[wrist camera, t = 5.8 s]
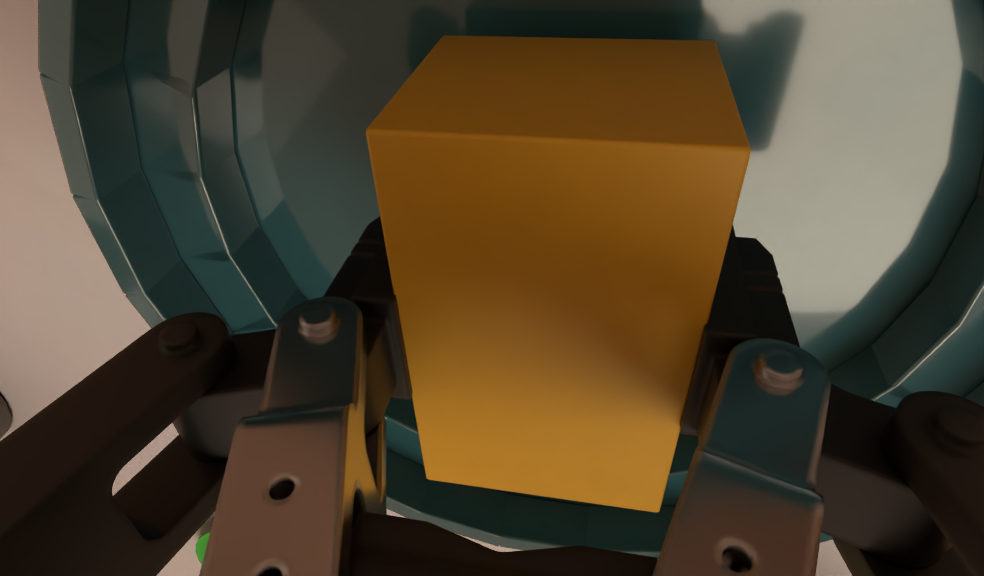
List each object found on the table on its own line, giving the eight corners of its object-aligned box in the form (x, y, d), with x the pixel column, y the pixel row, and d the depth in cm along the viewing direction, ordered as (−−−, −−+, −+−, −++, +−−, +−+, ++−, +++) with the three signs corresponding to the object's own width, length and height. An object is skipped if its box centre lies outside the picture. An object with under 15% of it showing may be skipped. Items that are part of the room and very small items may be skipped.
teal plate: (-45, -394, 9) (-281, -463, 7) (1603, -579, 6) (2228, -828, 4) (277, 426, 21) (233, 504, 19) (878, 510, 18) (913, 615, 15)
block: (442, 34, 11) (363, 129, 7) (716, 39, 10) (753, 149, 7) (467, 343, 15) (425, 480, 12) (654, 363, 14) (659, 514, 11)
